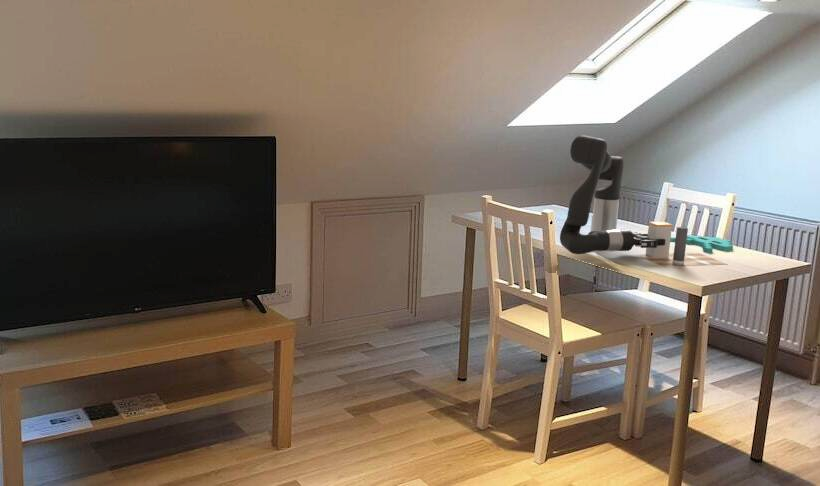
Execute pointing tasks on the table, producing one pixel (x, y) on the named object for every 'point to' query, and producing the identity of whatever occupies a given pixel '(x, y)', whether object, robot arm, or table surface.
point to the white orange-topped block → (659, 232)
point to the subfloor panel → (685, 260)
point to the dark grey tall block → (680, 246)
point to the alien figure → (708, 243)
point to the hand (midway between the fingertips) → (658, 239)
